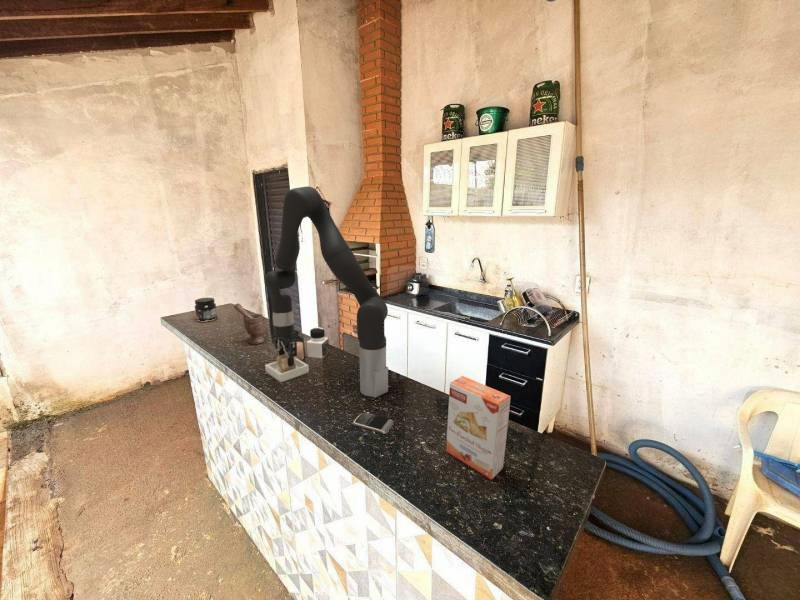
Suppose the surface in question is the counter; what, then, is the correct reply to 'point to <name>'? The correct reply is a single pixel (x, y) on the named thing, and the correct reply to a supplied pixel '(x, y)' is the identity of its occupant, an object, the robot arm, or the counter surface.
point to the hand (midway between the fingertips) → (286, 362)
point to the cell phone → (373, 422)
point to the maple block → (284, 364)
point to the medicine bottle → (317, 343)
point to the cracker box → (477, 425)
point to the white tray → (281, 377)
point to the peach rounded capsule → (300, 351)
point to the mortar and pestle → (252, 325)
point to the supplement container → (205, 309)
